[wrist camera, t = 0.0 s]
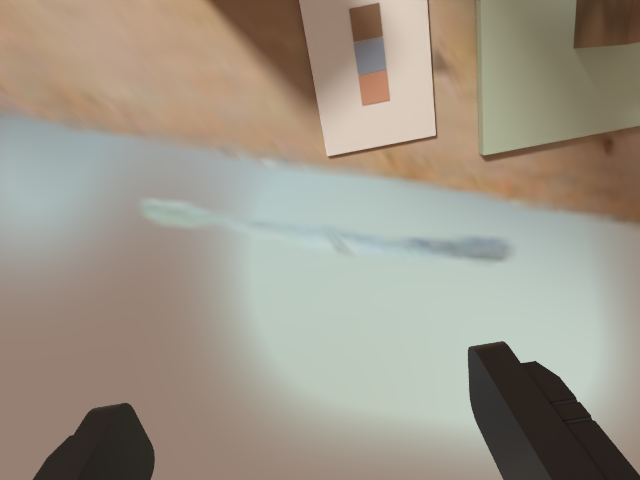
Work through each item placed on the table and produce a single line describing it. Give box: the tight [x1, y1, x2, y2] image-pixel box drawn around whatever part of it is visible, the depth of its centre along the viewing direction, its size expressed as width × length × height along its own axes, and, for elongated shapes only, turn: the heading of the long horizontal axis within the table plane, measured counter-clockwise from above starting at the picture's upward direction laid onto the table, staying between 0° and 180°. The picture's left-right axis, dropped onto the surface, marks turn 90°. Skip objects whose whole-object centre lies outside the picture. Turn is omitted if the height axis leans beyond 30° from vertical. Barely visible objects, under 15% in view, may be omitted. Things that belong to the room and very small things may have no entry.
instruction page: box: [299, 0, 436, 156], centre depth 33 cm, size 15×10×1 cm, turn 11°
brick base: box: [573, 0, 640, 49], centre depth 28 cm, size 5×5×6 cm
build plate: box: [476, 0, 640, 156], centre depth 32 cm, size 20×20×1 cm
